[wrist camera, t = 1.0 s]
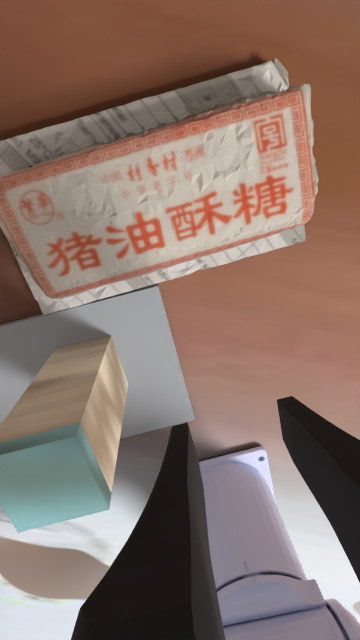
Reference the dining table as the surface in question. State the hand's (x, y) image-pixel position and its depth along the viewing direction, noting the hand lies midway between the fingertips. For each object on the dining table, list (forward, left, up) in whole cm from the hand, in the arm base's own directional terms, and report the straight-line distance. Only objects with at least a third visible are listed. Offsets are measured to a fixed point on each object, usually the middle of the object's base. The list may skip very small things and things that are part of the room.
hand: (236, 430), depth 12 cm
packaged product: (+9, +1, -11) cm, 15 cm away
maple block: (0, +8, -10) cm, 13 cm away
